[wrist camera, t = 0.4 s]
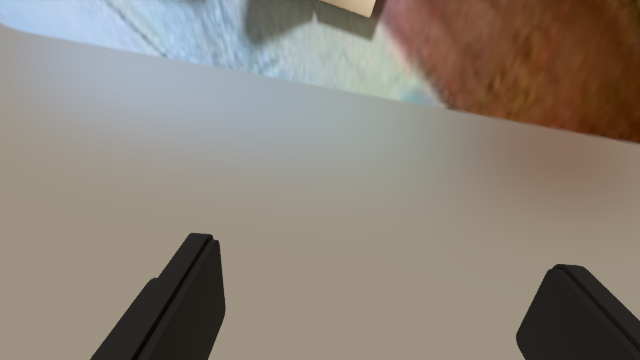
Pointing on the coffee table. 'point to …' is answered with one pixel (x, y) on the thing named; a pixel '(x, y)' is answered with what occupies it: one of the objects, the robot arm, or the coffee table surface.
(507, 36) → the coffee table surface
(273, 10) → the coffee table surface
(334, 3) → the laid board
